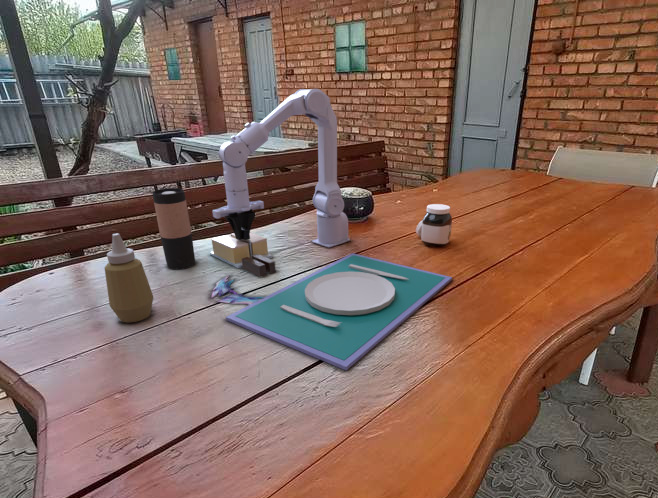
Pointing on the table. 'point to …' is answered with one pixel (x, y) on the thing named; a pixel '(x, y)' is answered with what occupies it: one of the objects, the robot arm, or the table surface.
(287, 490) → the table surface
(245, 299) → the decorative blades
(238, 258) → the cake
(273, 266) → the stand
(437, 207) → the spread jar
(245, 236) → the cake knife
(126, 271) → the squeeze bottle
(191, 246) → the travel mug
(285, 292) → the place mat
